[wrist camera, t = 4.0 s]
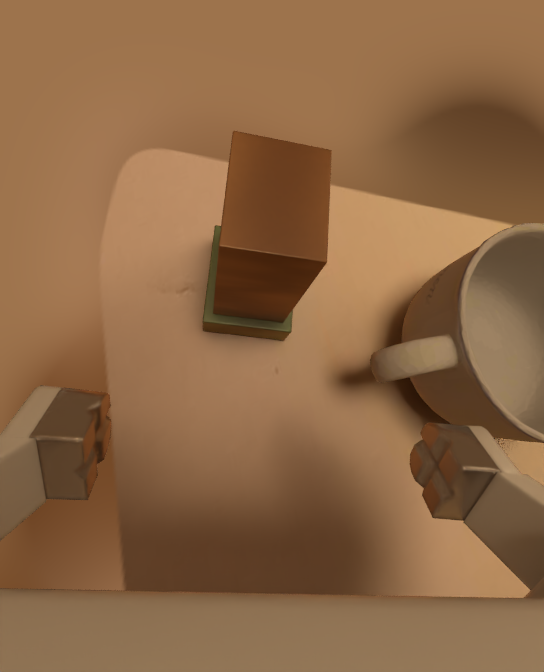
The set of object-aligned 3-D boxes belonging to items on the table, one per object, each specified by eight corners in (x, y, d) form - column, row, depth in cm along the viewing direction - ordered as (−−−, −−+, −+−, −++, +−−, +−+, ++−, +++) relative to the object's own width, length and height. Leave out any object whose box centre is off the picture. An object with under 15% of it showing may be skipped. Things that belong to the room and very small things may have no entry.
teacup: (513, 286, 28) (631, 229, 20) (542, 441, 25) (692, 445, 17) (328, 277, 25) (382, 208, 18) (339, 447, 22) (409, 455, 15)
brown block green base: (202, 331, 23) (202, 256, 13) (214, 241, 24) (221, 116, 15) (284, 340, 24) (340, 276, 14) (290, 252, 25) (344, 141, 16)
